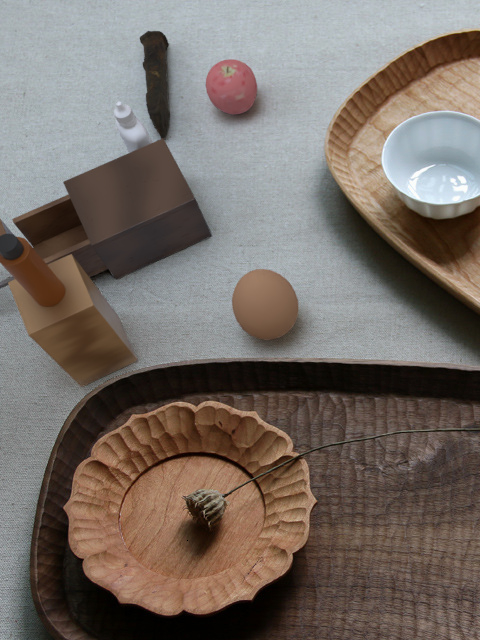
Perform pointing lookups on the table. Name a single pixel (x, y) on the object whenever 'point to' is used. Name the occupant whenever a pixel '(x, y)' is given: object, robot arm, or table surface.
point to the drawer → (57, 235)
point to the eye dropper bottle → (130, 128)
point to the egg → (265, 304)
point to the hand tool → (156, 79)
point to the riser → (76, 326)
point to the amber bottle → (30, 270)
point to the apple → (231, 86)
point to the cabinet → (137, 209)
